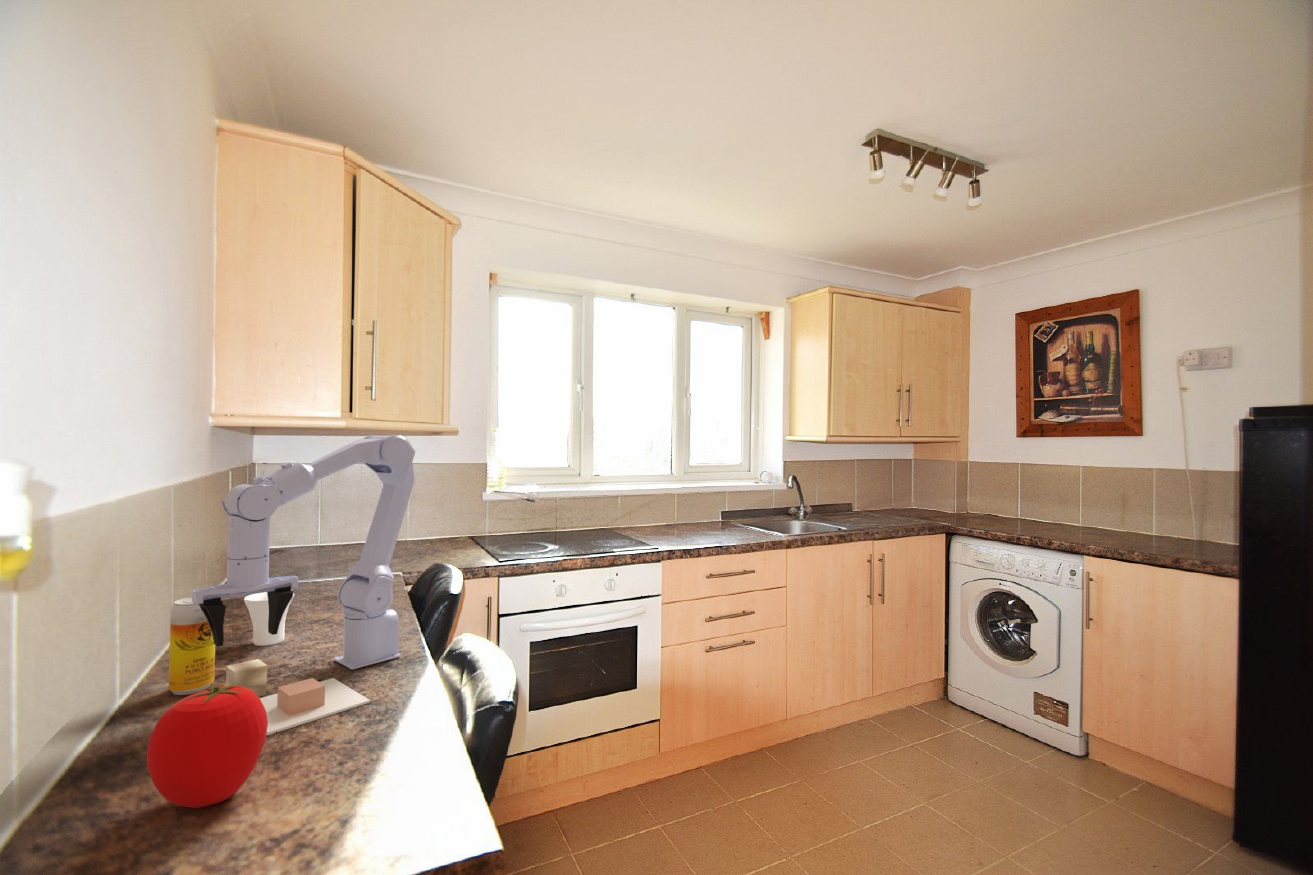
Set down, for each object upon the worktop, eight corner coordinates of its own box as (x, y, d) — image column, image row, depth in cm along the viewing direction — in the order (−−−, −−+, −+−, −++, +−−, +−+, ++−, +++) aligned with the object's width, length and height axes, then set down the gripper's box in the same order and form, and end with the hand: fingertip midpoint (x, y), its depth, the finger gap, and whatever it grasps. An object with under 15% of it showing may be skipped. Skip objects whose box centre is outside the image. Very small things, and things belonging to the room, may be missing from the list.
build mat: (333, 680, 103) (333, 678, 103) (369, 702, 94) (369, 700, 94) (224, 710, 91) (224, 708, 91) (254, 739, 82) (254, 736, 82)
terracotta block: (311, 696, 95) (312, 678, 95) (324, 705, 92) (325, 686, 92) (277, 706, 91) (277, 687, 91) (289, 716, 88) (289, 696, 88)
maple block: (257, 688, 99) (258, 658, 99) (266, 695, 97) (267, 665, 97) (225, 696, 96) (226, 666, 96) (234, 704, 93) (235, 672, 93)
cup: (302, 639, 125) (304, 592, 125) (254, 651, 117) (255, 601, 117) (282, 632, 129) (283, 587, 130) (234, 643, 122) (235, 595, 122)
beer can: (188, 698, 95) (191, 606, 95) (158, 694, 96) (161, 603, 96) (223, 683, 101) (225, 596, 101) (194, 679, 102) (196, 594, 102)
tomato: (168, 843, 60) (172, 718, 61) (130, 807, 66) (134, 694, 66) (285, 790, 70) (288, 682, 70) (242, 763, 76) (245, 664, 76)
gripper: (287, 548, 105) (286, 624, 105) (187, 559, 93) (184, 644, 93) (303, 553, 100) (301, 632, 100) (200, 565, 89) (197, 654, 89)
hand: (246, 638), depth 96 cm, fingers open, 7 cm apart
